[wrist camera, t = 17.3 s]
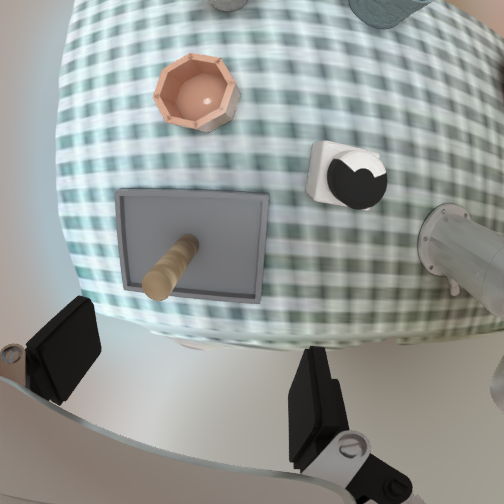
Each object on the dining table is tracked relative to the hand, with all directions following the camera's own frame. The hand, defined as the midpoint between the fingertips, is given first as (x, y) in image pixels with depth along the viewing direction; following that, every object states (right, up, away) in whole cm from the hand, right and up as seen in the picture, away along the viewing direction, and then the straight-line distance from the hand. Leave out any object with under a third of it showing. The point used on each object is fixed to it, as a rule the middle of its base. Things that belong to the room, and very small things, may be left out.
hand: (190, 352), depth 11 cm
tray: (-7, +5, +30) cm, 31 cm away
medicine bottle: (+14, +15, +25) cm, 33 cm away
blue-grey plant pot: (+21, +42, +15) cm, 50 cm away
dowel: (-7, +5, +29) cm, 30 cm away
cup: (-4, +25, +22) cm, 33 cm away
